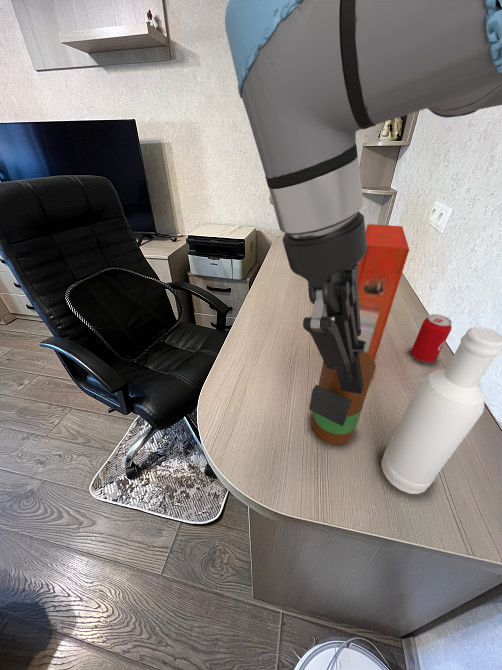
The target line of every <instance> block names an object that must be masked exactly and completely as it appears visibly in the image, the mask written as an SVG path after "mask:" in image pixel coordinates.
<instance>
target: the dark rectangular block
mask: <svg viewBox="0 0 502 670" xmlns="http://www.w3.org/2000/svg"><path fill="white" fill-rule="evenodd" d="M351 402H352V400H350V399H348V398H345V397H343V396H341V395H339V394H337V393H334V392H332V391H330V390H328V389H325V388H323V387H321V386H319V384H315V385H314V387H313V388H312V390H311V397H310V402H309V408H308V410H309V411H311V412H312V413H313V412H315V413H317V414H319V415H321V416H323V417H325V418H327V419H329V420H331V421H333V422H335V423H337V424H339V425H341V426H343V425H344V423H345V421H346V418H347V415H348V412H349V408H350V405H351Z"/></svg>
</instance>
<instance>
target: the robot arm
mask: <svg viewBox="0 0 502 670" xmlns="http://www.w3.org/2000/svg"><path fill="white" fill-rule="evenodd" d="M224 14H225V16H224V26H225V33H226V37H227V42H228V46H229V50H230V54H231V58H232V62H233V67H234V73H235V75H236V79H237V80H236V81H237V91H238V95H239V98H240V99H241V100H242V103H243V106H244V109H245V112H246V116H247V119H248V122H249V125H250V128H251V131H252V135H253V138H254V141H255V142H254V143H255V145H256V149H257V151H258V152H257V153H258V155H259V158H260V162H261V165H262V169H263V172H264V176H265V177H264V178H265V181H266V184H267V185H266V186H267V187H268V192H269V198H268V200H269V204H270V205H272V206H273V209H274V213H275V217H276V220H277V224H278V227H279V231H281V232H282V233H283V237H282V243H283V248H284V251H285V255H286V258H287V262H288V265H289V268H290V270H291V272H293V273H294V274H296V275H297V276H299V277H302V278H303V279H304V280H306V281H307V291H308V298H309V301H310V303H311V304H312V305H313V309H312V315H310V316H305V317H303V321H302V327H303V329H304V330H305V331H306V332H308V333H309V334H310V336H311V337H312V340H313V342H314V344H315V346H316V348H317V350H318V352H319V355H320V357H321V359H322V362H323V361H324V363H325V365H326V367H327V369H334V370H337V374H338V378H339V383H340V387H341V391H346V392H352V393H358V394H362V390H363V386H364V385H363V378H362V372H361V366H360V359H359V353H358V352H356V349H358V350H364V347H365V342H358V336H360V335H361V326H360V310H359V294H358V279H357V278H358V265H359V261H360V260H361V259H362V258H363V257H364V255H365V254H366V251H367V240H366V221H365V216H364V214H363V213H362V212H360V210H361V209H362V208H363V206H364V197H363V188H362V180H361V179H362V178H361V171H360V163H359V161H360V160H359V155H358V145H357V141H356V140H357V139H356V138H357V137H356V136H357V135H356V134H357V132H359V131H360V130H367V129H370V128H372V127H375V126H377V125H380V124H382V123H383V124H384V123H386V122H388V121H389V122H390V121H392V120H395V119H398V118H401V117H404V116H408V115H410V114H415V113H417V112H420V111H423V110H426V109H427V110H428V111H430V112H431V113H432V114H433V115H436V116H437V117H441V118H446V119H447V118H457V117H464V116H468V115H471V114H474V113H476V112H477V111H479V110H484V109H489V108H494V107H499V106H502V0H228V2H227V4H226V8H225V13H224Z"/></svg>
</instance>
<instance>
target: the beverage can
mask: <svg viewBox="0 0 502 670" xmlns="http://www.w3.org/2000/svg"><path fill="white" fill-rule="evenodd" d="M452 328H453V327H452V320H451V319H450V318H449V317H446V316H444V315H441V314H437V313H435V314H434V313H433V314H432V313H431V314H429V315H428V316H427V317H426V318H425V319H424V320H423V321H422V324H421V326H420V328H419V331H418V333H417V336H416V338H415V340H414V343H413V345H412V348H411V350H410V353H411V356H412V357H413V358H414V359H416V360H417V361H419V362H421V363H427V364H428V363H434V362H436V361H437V359H438V357H439V355H440V353H441V352H442V349H443V348H444V346H445V343H446V341H447V339H448V337H449V335H450V333H451V331H452Z"/></svg>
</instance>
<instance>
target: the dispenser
mask: <svg viewBox="0 0 502 670" xmlns="http://www.w3.org/2000/svg"><path fill="white" fill-rule="evenodd" d="M358 342H365V341H362V340H359V339H358ZM365 344H366V342H365ZM364 348H365V347H364ZM356 352H358V353H359V359H360V366H361V372H362V378H363V385H364V386H363V390H362V394H358V393H352V392H346V391H341V387H340V383H339V378H338V374H337V370H334V369H327V367H326V365H325V363H324V361H323V360H322V363H321V369H320V374H319V380H318V385H319V386H321V387H323V388H325V389H328V390H330V391H332V392H334V393H337V394H339V395H341V396H343V397H345V398H348V399H350V400H352V402H351V405H350V408H349V412H348V415H347V418H346V421H345V423H344V425H343V426H341V425H339V424H337V423H335V422H333V421H331V420H329V419H327V418H325V417H323V416H321V415H319V414H317V413H315V412H313V411H312V417H311V421H310V426H311V430H312V431H313V434H314V435H315V436H316V438H318V439H319V440H320V441H322V442H324V443H326V444H328V445H334V446H340V445H345V444H346V443H348V442H350V440H351V439H352V438H353V435H354V432H355V429H356V428H357V425H358V422H359V419H360V417H361V414H362V412H363V409H364V408H363V407H364V403H365V400H366V398H367V395H368V391H369V389H370V386H371V383H372V380H373V378H374V374H375V371H376V368H377V365H376V360H374V359H373V358H372V357H371V356H370V355H369V354H368V353H366V352H365V351H363V350H358V349H356Z"/></svg>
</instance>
